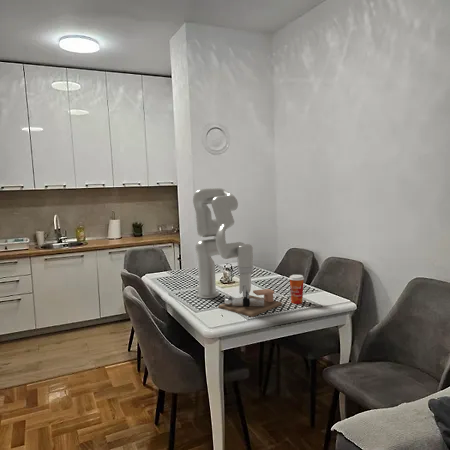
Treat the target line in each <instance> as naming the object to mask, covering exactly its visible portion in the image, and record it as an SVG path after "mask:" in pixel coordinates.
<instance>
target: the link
mask: <svg viewBox="0 0 450 450" xmlns="http://www.w3.org/2000/svg"><path fill="white" fill-rule="evenodd" d="M224 303H225V305H226V306H243V298H241V297H232V296H227V297H224ZM250 306H264V297H260V298H250Z"/></svg>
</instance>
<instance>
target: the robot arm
mask: <svg viewBox="0 0 450 450" xmlns="http://www.w3.org/2000/svg"><path fill="white" fill-rule="evenodd" d="M192 203H193V207H194V211H195V219H196V231H197V235H198V236H199V237H200V238H209V239H201V240H199V241H198V242H197V243H196V245H195V252H196V253H195V254H196V257H197V271H198V273H197V275H198V285H196V287H195V288H194V290H195V291H197V292H196V293H195V295H196V297H197V298H198V299H214V298H217V297H218V296H220V295H219V291H217V287H216V286H217V285H216V284H217V283H216V264H215V261H214V259H213V257H216V256H220V257H221V258H223V260H224V259H225V260H228V259H234V258H237V274H238V275H239V283H238V284H239V286H238V288H239V289H238V290H239V292H238V293H239V294H240V295H241V294H242V297H243V306H244V307H249V306H250V298H249V295H250V292H251V290H252V274H253V273H254V257H253V256H254V251H253V249H254V248H253V245H252V244H250V243H249V244H248V243H244V242H241V241H238V242H237V241H236V242H229V243H227V241H226V231H227V230H228V229H230V228H231V227H232V226H233V225H234V224H235V219H234V216H233V213H232V212H234V211H237V209H238V206H239V202H238V199H237V198H236V197H235V195H233V194H232V192H231V193H230V192H229V191H227V190H225V189H224V188H220V187H219V188H202V189H198V190H196V191H195V192H194V194H193V197H192ZM208 205H211V207H212V209H213V214H214V216H215V219H212V211H211V209H210V208H209V206H208Z"/></svg>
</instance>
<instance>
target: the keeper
mask: <svg viewBox="0 0 450 450" xmlns="http://www.w3.org/2000/svg"><path fill="white" fill-rule="evenodd" d="M252 293H253V294H255V295H256V296H262V295H263V298H264V300H266V301H267V302H273V301H274V294H275V290H273V289H271V288H266V289H265V288H264V289H256V290H254V289H253V290H252Z"/></svg>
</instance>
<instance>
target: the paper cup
mask: <svg viewBox="0 0 450 450" xmlns="http://www.w3.org/2000/svg"><path fill="white" fill-rule="evenodd" d="M288 279H289V288H290V300H291V304H294V305H301V304H302V303H303V297H304V280H305V277H304V275H303V274H292V275H289V278H288Z"/></svg>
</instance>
